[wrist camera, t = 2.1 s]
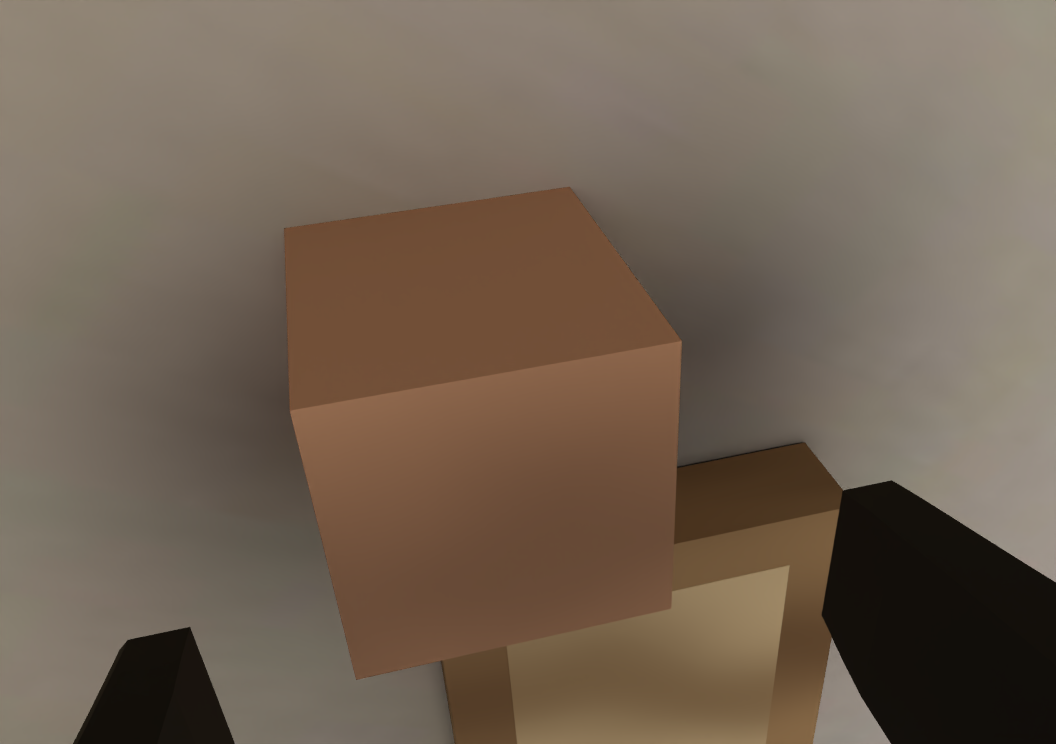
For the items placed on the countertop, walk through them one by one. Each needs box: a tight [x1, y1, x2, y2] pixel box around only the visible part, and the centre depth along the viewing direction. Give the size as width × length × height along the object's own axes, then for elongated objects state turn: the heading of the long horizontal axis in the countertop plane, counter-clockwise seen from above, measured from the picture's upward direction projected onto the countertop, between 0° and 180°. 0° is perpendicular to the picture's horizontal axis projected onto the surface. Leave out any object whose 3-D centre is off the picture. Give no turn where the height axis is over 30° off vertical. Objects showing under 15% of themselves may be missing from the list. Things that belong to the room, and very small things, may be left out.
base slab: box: [441, 443, 843, 744], centre depth 20 cm, size 8×8×2 cm
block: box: [284, 187, 682, 680], centre depth 14 cm, size 4×4×5 cm
